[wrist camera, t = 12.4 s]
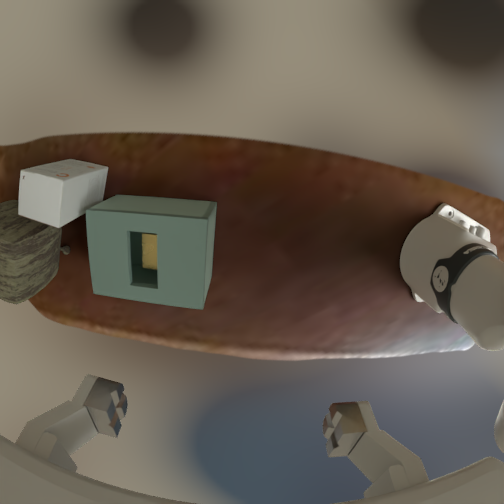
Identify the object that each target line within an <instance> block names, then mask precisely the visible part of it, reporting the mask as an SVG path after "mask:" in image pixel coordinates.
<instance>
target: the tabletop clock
mask: <svg viewBox="0 0 504 504" xmlns="http://www.w3.org/2000/svg"><path fill="white" fill-rule="evenodd" d="M18 204H19V201H18V200H10V201H6V202H3V203H0V299H2V300H4V301H6V302H9V303H13V304H18V303H21V302H24V301H26V300H28V299H29V298H31V297H32V296H34V295H35V294H36V293H38V292H39V291H40V290H42V289H43V288H44V287H45V286H46V285H47V284H48V283H49V282H50V281H51V280H52V279H53V278H54V277H55V275H56V274H57V271H58V268H59V255H60V250H61V251H63V253H64V254H69V253H70V247H69V246H64V247H60V244H61V235H62V228H61V227H60V228H56V227H53V226H50V225H47V224H44V223H41V222H38V221H35V220H32V219H29V218H26V217H24V216H21V215H19V214H18Z"/></svg>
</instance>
